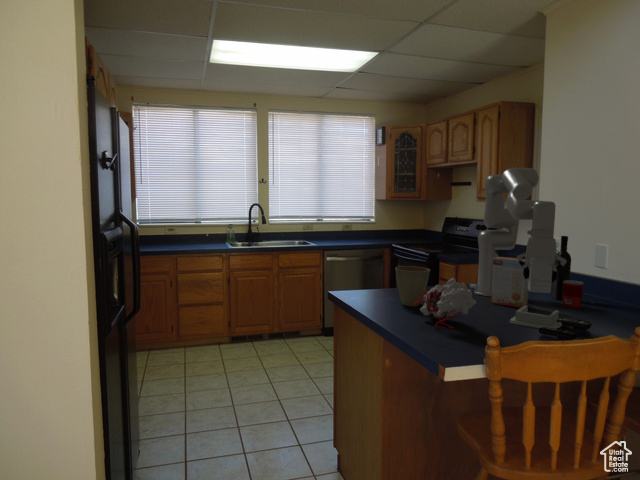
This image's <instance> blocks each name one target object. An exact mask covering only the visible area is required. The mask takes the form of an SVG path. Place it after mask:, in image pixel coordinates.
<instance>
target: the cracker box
mask: <svg viewBox="0 0 640 480" xmlns="http://www.w3.org/2000/svg"><path fill="white" fill-rule="evenodd" d="M522 260H523V262H524V263H526V262H525V258H522ZM528 268H529V266H528ZM523 270H524V268H523V267H522V266H521V265H520V263H519V261H518V259H517V257H506V256H505V257H504V256H499V257H495V258H494V259H493V277H492V296H490V297H491V298H490V299H491V300H490V302H491V304H495V305H501V306H507V307H513V308H517V309H520V308H522V307H523V306H528V299H529V298H528V297H529V289H528V278H527V279H524V277H525V276H523Z"/></svg>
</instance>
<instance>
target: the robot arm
mask: <svg viewBox="0 0 640 480" xmlns="http://www.w3.org/2000/svg"><path fill="white" fill-rule="evenodd" d="M538 183H539V174H538V172H537V170H536V169H534V168H531V167H510V168H507V169H505V170H504V171H503V173H502V174H501V173H499V174H498V173H497V174H490V175H489V176H487V177H486V179H485V181H484V192H485V205H484V213H483V214H484V215H483V224H484V226H485V227H487V228H491V229H485V230H482V231H480V232H479V234H478V236H477V243H478V252H479V253H478V254H479V255H478V271H477V272H478V273H477V275H478V276H477V283H469V288H470V289H474V291H473V293H474V294H475V295H478V296H483V297H492V277H493V259H494V258H495V257H500V256H499V255H498V253H497V252H496V251H497V250H498V251H499V250H503V251H505V250H506V251H507V250H508V251H510V250H511V251H512V250H513V249H514V248H515V246H516V244H517V239H518V233H519V225H520V220H524V221H529V220H532V221H531V222H532V223H531V230H527V232H526V235H530V236H529V237H528V238H527V242H526V250H525V252H523V253H521V254H519V255H516V259H518V261H519V263H520V265H521V266H522V267H523V268H524V270H523V276H525V277H524V279H527V278H528V277H529V268H528V266H529V264H530V260H531V258H536V259H546V260H548V265H553V266H552V283H554V282H555V280H557V271H558V270H559V269H561V268H562V267H563V266H564V264H565V263H566V262H567V261H566V260H565V259H564V258H562V257H560V256H559V255H557V253H558V252H557V240H556V238H554V237H555V220H556V203H555V202H554V201H548V200H546V201H545V200H533V199H530V200H528V198H529V197H530V196H531V195H532V193H533V189H534V188H535V187H536V186H538ZM504 194H507V197H505V195H504ZM505 205H506V207H505ZM503 229H504V230H503ZM523 258H524V259H525V262H526V263H524V262H523V260H522V259H523ZM551 259H552V260H551ZM556 259H558V260H559V261H561V263H560V265H559V266H556V264H555V263H556Z"/></svg>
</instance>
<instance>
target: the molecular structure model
mask: <svg viewBox="0 0 640 480" xmlns="http://www.w3.org/2000/svg"><path fill="white" fill-rule="evenodd" d="M468 288H469V287H468V286H467V285H466V283H465V282H461V283H460V282H458V281H457V279H456V278H454V277H452V278H450V279H449V280H447V281H446V284H443V285H442V284H435V286H434V287H432V288H430V289H429V290H427V288H426V289H424V290H425V291H424V293H426V294H424V295H423V298H422V299H420V300H418V301H417V300H416V301H417V302H419V301H421V302H422V301H424V304H423V305H422V307H420V308H419V310H420V312H421V313H422V314H423V315H424V316H429V315H431V314H432V315H433V316H434V318H436V319H437V320H439V321H437V322H436V323H435V324H434V326H435V329H437V328H443V329H445V328H446V327H444V326H441V325H440V326H439V325H437V324H443V325H445V326H447V327H448V329H453V330H455V327H453V326H452V325H450V324H446V323H445V321H447V320H448V319H451V318H454V317H456V316H458V315H459V313H460V314H463V315H464V316H465V315H468V314H469V310H470V309H471V308H473V306H475V305H477V301H476V300H475V299H474V298H473V292H472V291H473V290H472V289H468ZM422 293H423V292H422ZM422 293H421V294H422ZM417 299H418V298H417ZM416 301H415V302H416ZM415 302H414V304H413V306H412V307H416V306H415V304H416V303H417V302H416V303H415ZM445 316H446V317H445ZM444 317H445V318H444ZM442 318H443V319H442Z"/></svg>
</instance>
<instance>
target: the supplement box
mask: <svg viewBox="0 0 640 480" xmlns="http://www.w3.org/2000/svg"><path fill="white" fill-rule="evenodd" d="M551 260H552V259H551ZM552 266H553V265H548V260H546V259H536V258H531V260H530V264H529V277H528V292H530V293H543V294H551V293H552V284H553V282H552V271H553V269H552Z"/></svg>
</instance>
